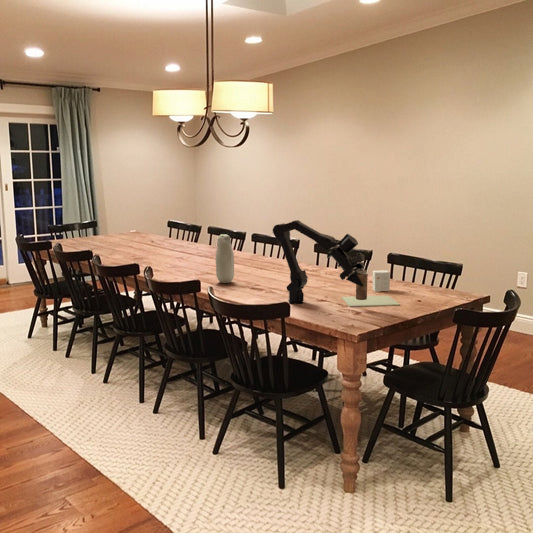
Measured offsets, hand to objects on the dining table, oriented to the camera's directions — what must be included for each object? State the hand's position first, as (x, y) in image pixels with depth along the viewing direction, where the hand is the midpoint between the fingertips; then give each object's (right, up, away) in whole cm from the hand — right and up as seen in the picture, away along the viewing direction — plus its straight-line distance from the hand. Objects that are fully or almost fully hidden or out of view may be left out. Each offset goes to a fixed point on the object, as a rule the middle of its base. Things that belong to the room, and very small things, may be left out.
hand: (364, 284), depth 249 cm
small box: (+16, -5, +42) cm, 45 cm away
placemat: (+6, -9, +18) cm, 21 cm away
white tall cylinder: (-68, -1, +66) cm, 95 cm away
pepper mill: (-1, -6, +2) cm, 7 cm away
